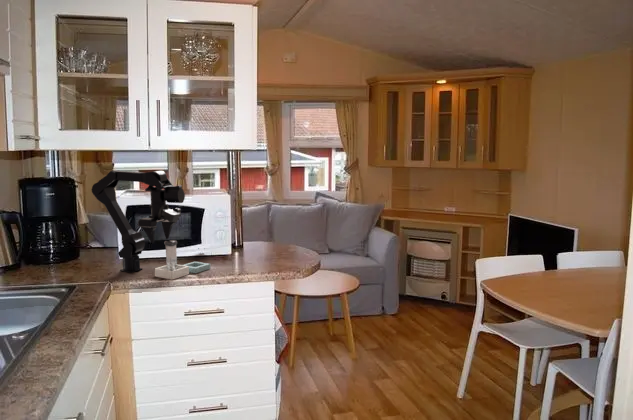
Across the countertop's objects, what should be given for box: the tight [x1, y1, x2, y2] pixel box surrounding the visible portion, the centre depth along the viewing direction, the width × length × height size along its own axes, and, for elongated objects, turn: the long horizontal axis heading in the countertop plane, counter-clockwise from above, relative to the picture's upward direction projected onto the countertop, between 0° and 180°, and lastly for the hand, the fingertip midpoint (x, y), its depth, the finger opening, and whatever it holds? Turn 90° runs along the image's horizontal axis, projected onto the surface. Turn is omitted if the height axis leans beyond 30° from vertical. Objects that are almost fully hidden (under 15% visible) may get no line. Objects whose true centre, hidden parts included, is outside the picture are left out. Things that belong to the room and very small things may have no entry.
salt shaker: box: [163, 239, 178, 271], centre depth 204 cm, size 5×5×13 cm
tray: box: [154, 263, 190, 280], centre depth 205 cm, size 10×10×3 cm
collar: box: [183, 261, 211, 274], centre depth 213 cm, size 9×9×2 cm
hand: (160, 240), depth 207 cm, fingers open, 9 cm apart
